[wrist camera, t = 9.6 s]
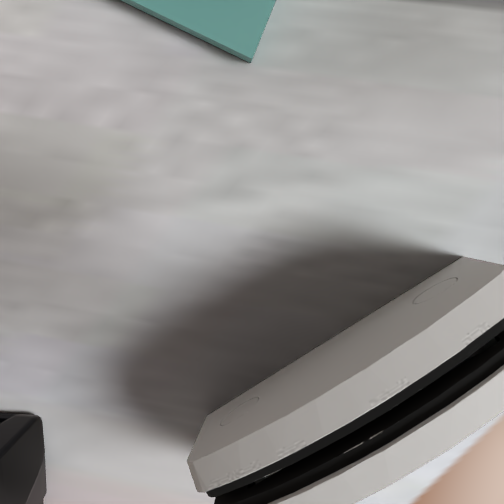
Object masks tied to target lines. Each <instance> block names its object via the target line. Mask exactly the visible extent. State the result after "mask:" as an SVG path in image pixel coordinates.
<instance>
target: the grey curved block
mask: <svg viewBox="0 0 504 504" xmlns="http://www.w3.org/2000/svg"><path fill="white" fill-rule="evenodd" d="M502 412H504V265H501V264H496V263H491V262H486V261H482V260H477V259H472V258H468V257H461V258H460V259H458V260H457V261H455V262H453V263H452V264H450V265H449V266H447V267H445V268H444V269H442V270H440V271H439V272H437V273H436V274H434V275H432V276H431V277H429V278H428V279H426V280H424V281H423V282H421V283H420V284H418V285H416V286H415V287H413V288H412V289H410V290H408V291H407V292H405V293H403V294H402V295H400V296H399V297H397V298H395V299H394V300H392V301H391V302H389V303H387V304H386V305H384V306H383V307H381V308H379V309H378V310H376V311H375V312H373V313H371V314H370V315H368V316H366V317H365V318H363V319H362V320H360V321H358V322H357V323H355V324H354V325H352V326H350V327H349V328H347V329H346V330H344V331H342V332H341V333H339V334H338V335H336V336H334V337H333V338H331V339H329V340H328V341H326V342H325V343H323V344H321V345H320V346H318V347H317V348H315V349H313V350H312V351H310V352H309V353H307V354H305V355H304V356H302V357H301V358H299V359H297V360H296V361H294V362H293V363H291V364H289V365H288V366H286V367H284V368H283V369H281V370H280V371H278V372H276V373H275V374H273V375H272V376H270V377H268V378H267V379H265V380H264V381H262V382H260V383H259V384H257V385H256V386H254V387H252V388H251V389H249V390H247V391H246V392H244V393H243V394H241V395H239V396H238V397H236V398H235V399H233V400H231V401H230V402H228V403H227V404H225V405H223V406H222V407H220V408H219V409H217V410H215V411H214V412H212V413H210V414H209V415H207V416H206V419H205V421H204V423H203V425H202V428H201V430H200V432H199V434H198V437H197V439H196V441H195V443H194V446H193V448H192V450H191V452H190V455H189V457H188V459H187V463H188V466H189V469H190V472H191V475H192V478H193V480H194V483H195V486H196V489H197V491H198V492H206V493H207V494H208V496H209V497H216V498H215V503H214V504H354V503H356V502H358V501H360V500H362V499H364V498H366V497H368V496H370V495H372V494H374V493H376V492H378V491H380V490H382V489H384V488H386V487H387V486H389V485H391V484H393V483H395V482H396V481H398V480H400V479H401V478H403V477H405V476H407V475H408V474H410V473H412V472H413V471H415V470H417V469H419V468H420V467H422V466H424V465H425V464H427V463H428V462H430V461H432V460H433V459H435V458H437V457H438V456H440V455H441V454H443V453H445V452H446V451H448V450H450V449H451V448H453V447H454V446H456V445H457V444H458V443H460V442H461V441H463V440H464V439H466V438H467V437H469V436H470V435H471V434H473V433H474V432H476V431H477V430H479V429H480V428H481V427H483V426H484V425H486V424H487V423H488V422H490V421H491V420H493V419H494V418H495V417H497V416H498V415H499V414H501V413H502Z"/></svg>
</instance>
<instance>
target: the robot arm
mask: <svg viewBox="0 0 504 504" xmlns="http://www.w3.org/2000/svg"><path fill="white" fill-rule="evenodd" d="M44 455H45V449H44V437H43V425H42V420H41V418H40V417H39V416H37V415H30V414H8V413H0V504H43V498H44V496H45V494H46V470H45V456H44Z"/></svg>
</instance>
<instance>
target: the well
mask: <svg viewBox="0 0 504 504" xmlns="http://www.w3.org/2000/svg"><path fill="white" fill-rule="evenodd" d="M121 1H123V2H125V3H127V4H129V5H131V6H133V7H135V8H137V9H139V10H141V11H143V12H145V13H148V14H150V15H152V16H154V17H156V18H158V19H160V20H162V21H164V22H166V23H168V24H170V25H172V26H175V27H177V28H179V29H181V30H183V31H185V32H187V33H189V34H191V35H193V36H195V37H197V38H199V39H202V40H204V41H206V42H208V43H210V44H212V45H214V46H216V47H218V48H220V49H222V50H224V51H226V52H228V53H231V54H233V55H235V56H237V57H239V58H241V59H243V60H245V61H247V62H249V63H251V61H252V59H253V56H254V54H255V51H256V49H257V46H258V44H259V41H260V39H261V36H262V34H263V31H264V29H265V26H266V24H267V21H268V19H269V16H270V14H271V11H272V9H273V6H274V4H275V1H276V0H121Z"/></svg>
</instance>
